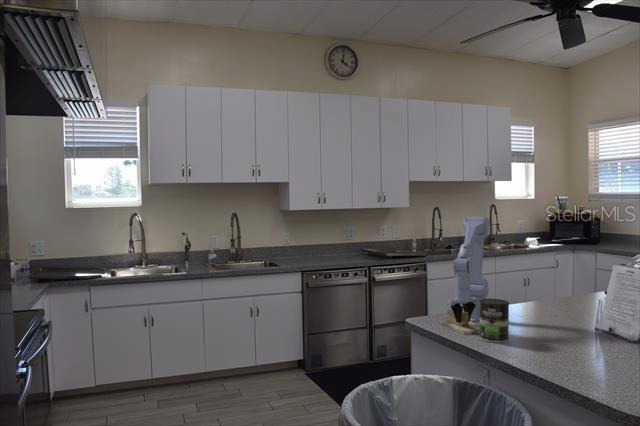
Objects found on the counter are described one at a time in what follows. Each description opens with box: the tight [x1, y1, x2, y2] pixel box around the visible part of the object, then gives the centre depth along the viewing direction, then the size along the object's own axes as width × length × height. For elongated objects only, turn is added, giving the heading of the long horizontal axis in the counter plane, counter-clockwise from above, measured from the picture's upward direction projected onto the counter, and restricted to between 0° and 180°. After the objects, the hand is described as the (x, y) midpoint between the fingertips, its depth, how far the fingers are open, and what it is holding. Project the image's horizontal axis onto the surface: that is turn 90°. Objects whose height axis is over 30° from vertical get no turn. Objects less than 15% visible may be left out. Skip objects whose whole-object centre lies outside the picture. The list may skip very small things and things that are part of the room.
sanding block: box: [446, 308, 468, 326], centre depth 206 cm, size 4×8×5 cm, turn 28°
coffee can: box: [479, 298, 510, 344], centre depth 187 cm, size 10×10×14 cm
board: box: [441, 320, 480, 335], centre depth 203 cm, size 12×16×1 cm
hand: (462, 321), depth 203 cm, fingers open, 4 cm apart
